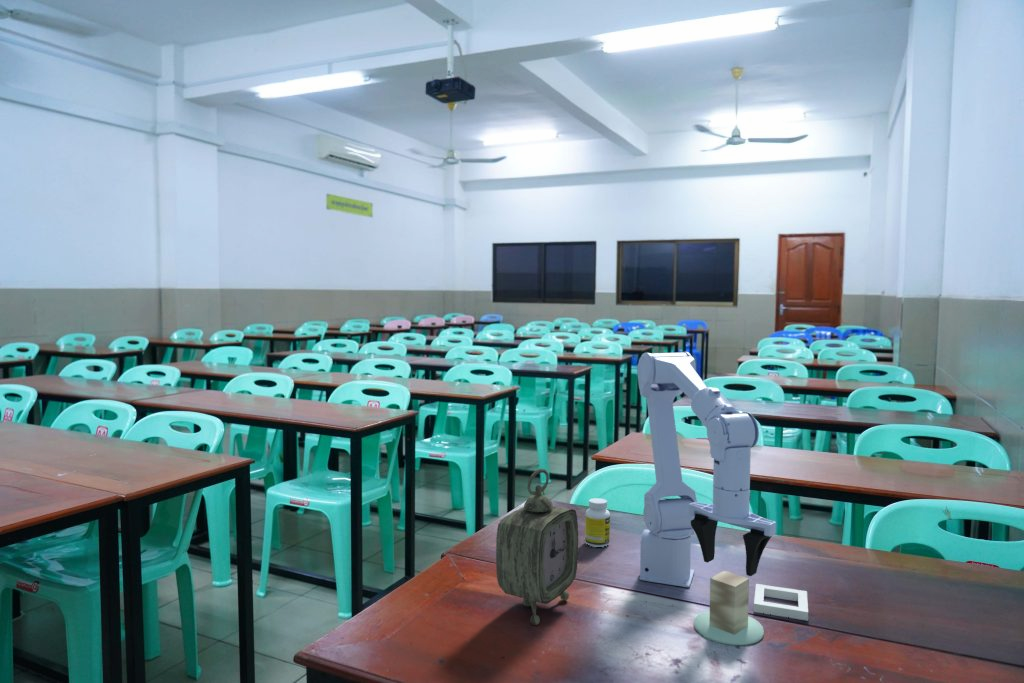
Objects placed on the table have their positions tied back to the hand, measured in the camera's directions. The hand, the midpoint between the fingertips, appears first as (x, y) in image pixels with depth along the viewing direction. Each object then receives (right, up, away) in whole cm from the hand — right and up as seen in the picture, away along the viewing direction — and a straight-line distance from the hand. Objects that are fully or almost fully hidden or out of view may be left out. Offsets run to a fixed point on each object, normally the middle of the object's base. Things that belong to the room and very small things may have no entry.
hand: (729, 567), depth 112 cm
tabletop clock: (-32, -10, +8) cm, 34 cm away
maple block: (0, -10, +1) cm, 10 cm away
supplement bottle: (-17, -8, +39) cm, 43 cm away
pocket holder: (+12, -10, +9) cm, 18 cm away
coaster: (0, -10, +1) cm, 10 cm away
